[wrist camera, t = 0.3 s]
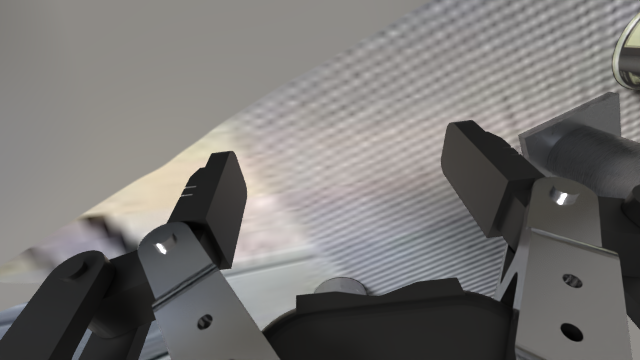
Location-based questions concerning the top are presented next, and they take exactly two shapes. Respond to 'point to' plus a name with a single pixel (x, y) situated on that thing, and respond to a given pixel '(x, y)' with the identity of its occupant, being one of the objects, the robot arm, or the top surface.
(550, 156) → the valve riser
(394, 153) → the top surface
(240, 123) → the top surface
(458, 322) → the robot arm
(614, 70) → the coffee can
